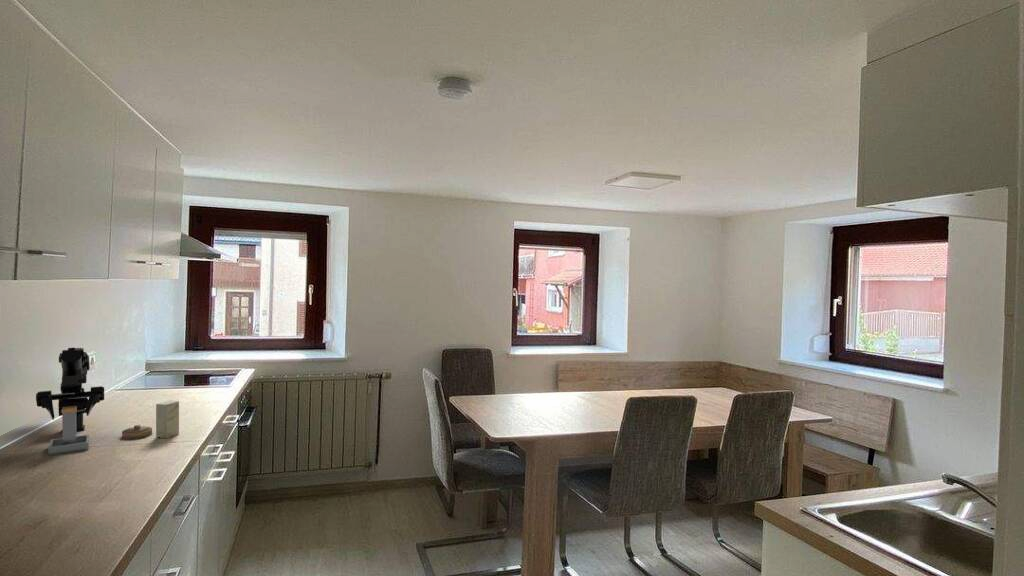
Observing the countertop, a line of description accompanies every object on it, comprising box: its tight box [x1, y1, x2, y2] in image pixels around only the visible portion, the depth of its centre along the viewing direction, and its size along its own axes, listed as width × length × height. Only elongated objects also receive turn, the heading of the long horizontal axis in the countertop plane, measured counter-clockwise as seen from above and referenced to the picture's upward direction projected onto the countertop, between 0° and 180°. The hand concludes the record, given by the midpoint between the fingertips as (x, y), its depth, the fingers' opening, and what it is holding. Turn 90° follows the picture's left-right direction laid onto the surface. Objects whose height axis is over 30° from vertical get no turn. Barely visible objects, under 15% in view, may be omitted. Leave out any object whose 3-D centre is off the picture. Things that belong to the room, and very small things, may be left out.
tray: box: [47, 434, 90, 456], centre depth 186 cm, size 10×10×2 cm
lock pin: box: [61, 406, 77, 445], centre depth 186 cm, size 4×4×13 cm
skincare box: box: [155, 400, 180, 439], centre depth 202 cm, size 6×4×12 cm
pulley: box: [121, 424, 153, 440], centre depth 201 cm, size 9×9×4 cm
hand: (70, 417), depth 191 cm, fingers open, 9 cm apart
